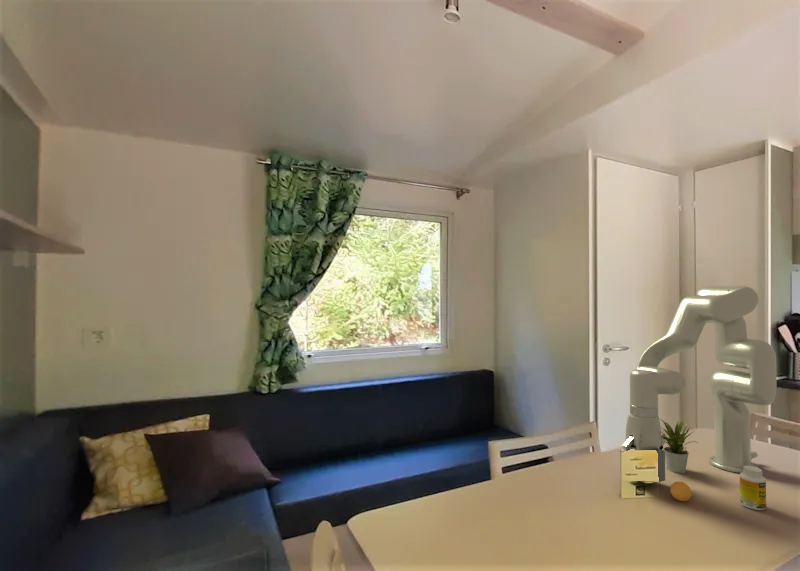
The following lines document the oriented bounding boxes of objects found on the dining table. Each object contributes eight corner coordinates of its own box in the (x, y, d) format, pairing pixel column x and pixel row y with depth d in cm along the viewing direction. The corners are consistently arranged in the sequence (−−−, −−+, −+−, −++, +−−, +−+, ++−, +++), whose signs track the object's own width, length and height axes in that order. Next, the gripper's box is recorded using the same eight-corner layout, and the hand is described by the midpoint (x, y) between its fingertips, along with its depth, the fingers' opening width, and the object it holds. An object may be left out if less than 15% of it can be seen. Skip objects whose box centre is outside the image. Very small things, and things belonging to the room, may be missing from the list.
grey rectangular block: (642, 470, 138) (642, 442, 138) (665, 480, 131) (665, 450, 131) (624, 474, 135) (624, 445, 135) (646, 484, 128) (646, 454, 128)
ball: (678, 494, 126) (678, 477, 126) (695, 502, 121) (695, 484, 121) (666, 498, 124) (665, 480, 124) (683, 506, 119) (682, 487, 119)
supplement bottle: (761, 513, 115) (761, 474, 115) (736, 505, 120) (735, 467, 120) (769, 507, 118) (769, 469, 118) (744, 499, 123) (744, 462, 123)
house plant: (657, 456, 154) (656, 409, 154) (704, 467, 144) (704, 417, 145) (645, 468, 144) (644, 418, 144) (694, 481, 134) (694, 427, 134)
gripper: (653, 405, 140) (654, 461, 140) (612, 411, 134) (612, 469, 133) (675, 411, 133) (676, 470, 133) (633, 417, 127) (633, 478, 126)
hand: (644, 469), depth 133 cm, fingers closed on grey rectangular block, 7 cm apart
